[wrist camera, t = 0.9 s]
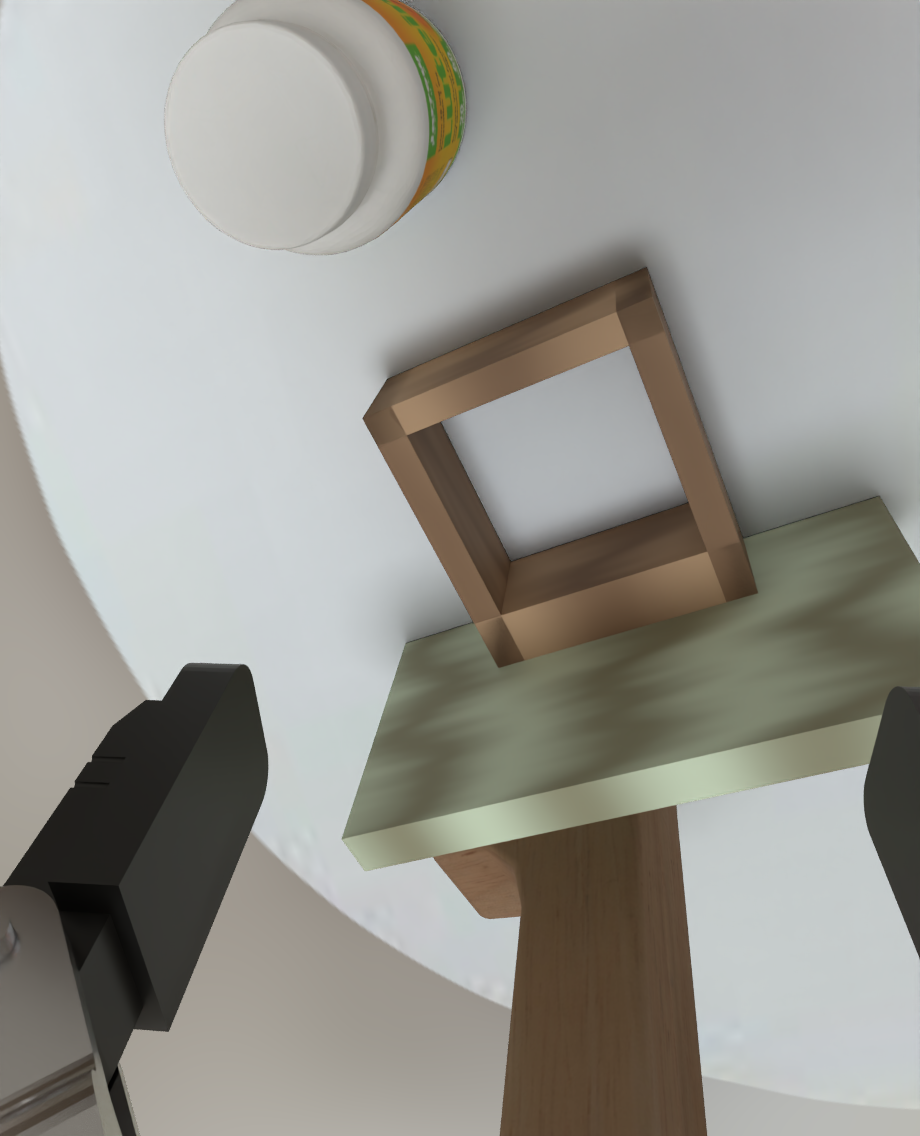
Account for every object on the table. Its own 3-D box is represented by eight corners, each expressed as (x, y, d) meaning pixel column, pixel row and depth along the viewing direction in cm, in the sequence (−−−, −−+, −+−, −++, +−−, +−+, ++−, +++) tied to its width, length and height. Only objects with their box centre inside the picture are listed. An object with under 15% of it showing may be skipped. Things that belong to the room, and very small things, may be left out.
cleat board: (800, 200, 24) (904, 287, 16) (889, 533, 29) (1004, 734, 21) (276, 426, 30) (151, 577, 22) (422, 671, 35) (365, 871, 27)
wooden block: (494, 839, 40) (426, 1332, 25) (443, 773, 38) (337, 1260, 23) (677, 784, 37) (729, 1316, 21) (631, 709, 35) (652, 1230, 20)
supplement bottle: (505, 138, 25) (455, 189, 16) (358, 243, 27) (250, 335, 19) (396, -54, 23) (278, -104, 14) (247, 76, 25) (70, 97, 17)
